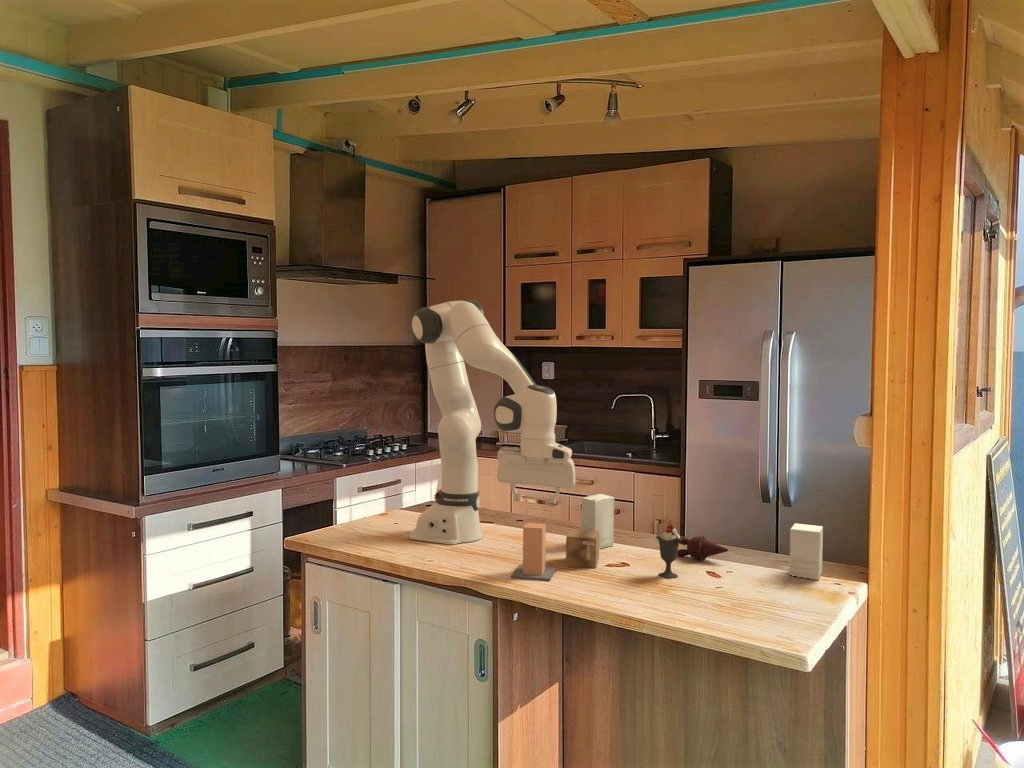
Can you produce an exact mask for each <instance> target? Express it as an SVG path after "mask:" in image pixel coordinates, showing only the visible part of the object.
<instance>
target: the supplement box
mask: <svg viewBox="0 0 1024 768" xmlns="http://www.w3.org/2000/svg"><path fill="white" fill-rule="evenodd" d="M789 533H790V534H789V537H790V538H789V576H790V575H793V576H797V577H796V578H800V577H803V578H802V579H807V578H809V580H814V581H815V580H816V581H819V579H820V578H821V575H822V574H823V546H824V545H823V544H824V543H823V542H824V541H823V538H824V537H823V536H824V527H823V526H822V525H813V524H805V523H804V524H803V523H793V525H792V526H791V528H790V529H789ZM793 576H792V577H793Z"/></svg>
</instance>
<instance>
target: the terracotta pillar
mask: <svg viewBox="0 0 1024 768" xmlns="http://www.w3.org/2000/svg"><path fill="white" fill-rule="evenodd" d="M546 528H547V524H546V523H539V522H538V523H537V522H536V523H535V522H526V523H525V524H524V526H523V527H522V529H523V531H522V565H523V574H536V575H542V574H543V572H544V570H545V567H546V536H547V535H546V533H547V532H546V530H547V529H546Z"/></svg>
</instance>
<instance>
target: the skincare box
mask: <svg viewBox="0 0 1024 768" xmlns="http://www.w3.org/2000/svg"><path fill="white" fill-rule="evenodd" d="M614 512H615V497H614V496H611V495H608V494H607V495H606V494H604V493H598V494H593V495H589V496H588V495H587V496H584V497H581V523H580V525H581V526H580V530H587V531H599V550H601V549H604V548H608V547H612V546H614V518H615V516H614V515H615V513H614Z"/></svg>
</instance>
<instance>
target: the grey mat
mask: <svg viewBox="0 0 1024 768" xmlns="http://www.w3.org/2000/svg"><path fill="white" fill-rule="evenodd" d="M555 570H556V571H557V567H555V566H545V570H544V572H543V574H542V575H536V574H523V564H518V566H517V567H516V568H515V569H514V571H513V572H512V573H511V575H510V578H511V579H521V580H530V581H532V580H533V581H543V580H544V581H545V582H550V581H552V578H553V576H554V574H555V573H554V572H556V571H555Z"/></svg>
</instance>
